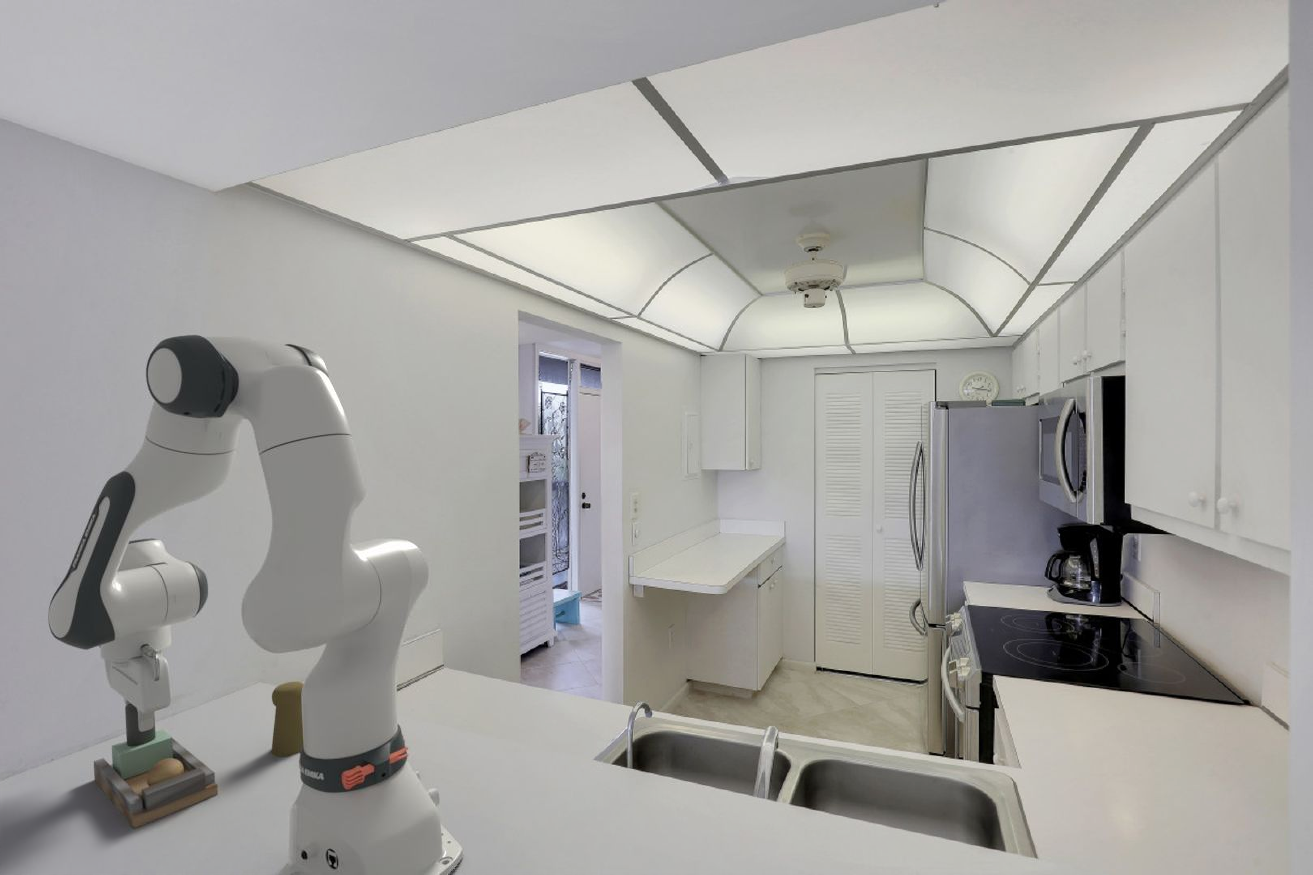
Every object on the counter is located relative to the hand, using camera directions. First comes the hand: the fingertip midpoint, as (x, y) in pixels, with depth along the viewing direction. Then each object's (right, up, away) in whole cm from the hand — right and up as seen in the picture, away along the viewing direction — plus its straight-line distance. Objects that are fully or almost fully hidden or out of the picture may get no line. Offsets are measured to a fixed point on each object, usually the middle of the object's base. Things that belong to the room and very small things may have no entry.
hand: (140, 725), depth 102 cm
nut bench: (+5, -8, -4) cm, 10 cm away
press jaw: (+1, -7, 0) cm, 7 cm away
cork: (+20, -8, +8) cm, 23 cm away
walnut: (+10, -4, -7) cm, 13 cm away
